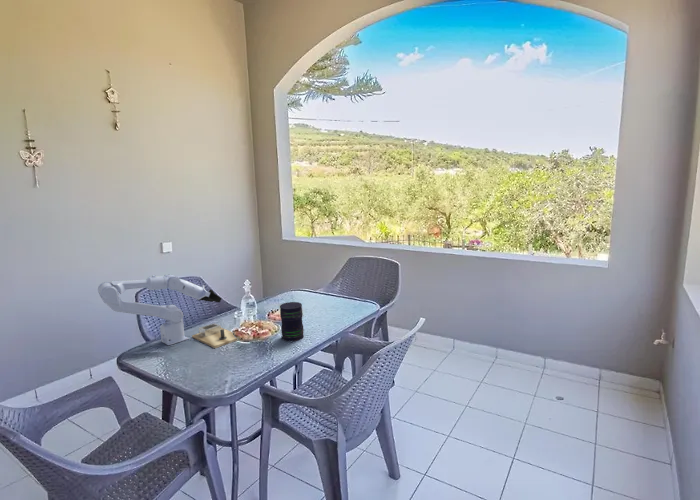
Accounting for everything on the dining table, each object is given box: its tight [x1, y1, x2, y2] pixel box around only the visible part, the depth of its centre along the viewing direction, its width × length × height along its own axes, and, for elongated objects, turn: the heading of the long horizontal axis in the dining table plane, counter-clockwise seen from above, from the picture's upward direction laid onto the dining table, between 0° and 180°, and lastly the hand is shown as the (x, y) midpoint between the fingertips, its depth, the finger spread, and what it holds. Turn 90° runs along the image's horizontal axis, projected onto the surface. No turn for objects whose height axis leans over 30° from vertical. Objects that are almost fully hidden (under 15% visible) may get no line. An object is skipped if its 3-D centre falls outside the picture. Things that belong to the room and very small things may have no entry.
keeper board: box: [191, 327, 238, 349], centre depth 197 cm, size 14×20×5 cm
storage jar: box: [279, 301, 305, 342], centre depth 194 cm, size 10×10×15 cm
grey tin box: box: [198, 322, 222, 337], centre depth 201 cm, size 8×6×3 cm
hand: (216, 300), depth 206 cm, fingers open, 7 cm apart
